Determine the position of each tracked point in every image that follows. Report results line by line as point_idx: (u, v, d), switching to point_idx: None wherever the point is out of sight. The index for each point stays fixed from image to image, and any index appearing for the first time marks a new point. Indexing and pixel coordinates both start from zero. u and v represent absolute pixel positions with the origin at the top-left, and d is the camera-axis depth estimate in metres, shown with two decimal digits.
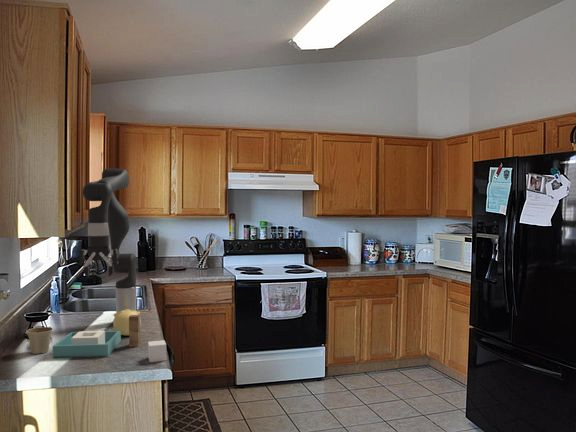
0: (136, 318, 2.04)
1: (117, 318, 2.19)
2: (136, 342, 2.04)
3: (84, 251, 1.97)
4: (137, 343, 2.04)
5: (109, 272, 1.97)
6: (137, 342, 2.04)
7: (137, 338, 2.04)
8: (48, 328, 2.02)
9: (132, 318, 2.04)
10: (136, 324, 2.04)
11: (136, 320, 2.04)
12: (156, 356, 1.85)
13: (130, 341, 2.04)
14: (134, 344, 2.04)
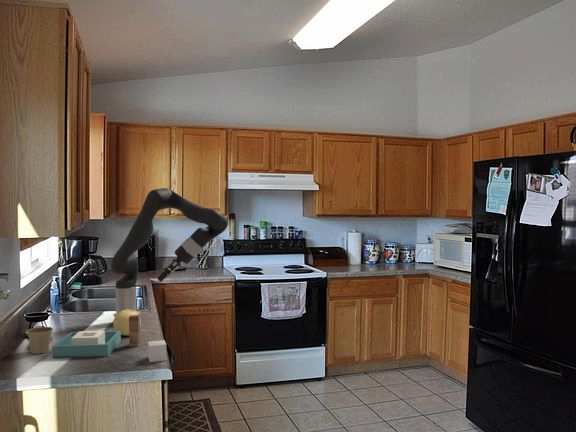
0: (136, 318, 2.04)
1: (117, 318, 2.19)
2: (136, 342, 2.04)
3: None
4: (137, 343, 2.04)
5: None
6: (137, 342, 2.04)
7: (137, 338, 2.04)
8: (48, 328, 2.02)
9: (132, 318, 2.04)
10: (136, 324, 2.04)
11: (136, 320, 2.04)
12: (156, 356, 1.85)
13: (130, 341, 2.04)
14: (134, 344, 2.04)
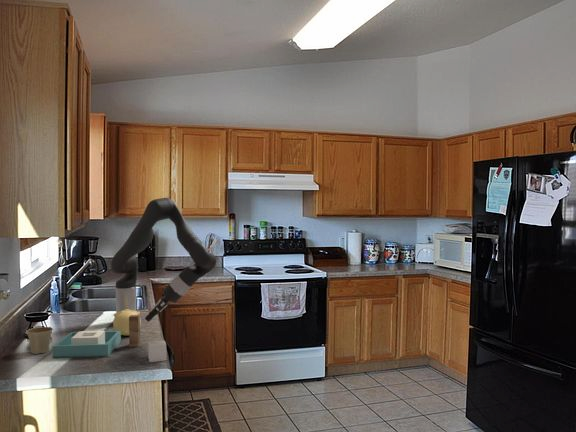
0: (136, 318, 2.04)
1: (117, 318, 2.19)
2: (136, 342, 2.04)
3: None
4: (137, 343, 2.04)
5: None
6: (137, 342, 2.04)
7: (137, 338, 2.04)
8: (48, 328, 2.02)
9: (132, 318, 2.04)
10: (136, 324, 2.04)
11: (136, 320, 2.04)
12: (156, 356, 1.85)
13: (130, 341, 2.04)
14: (134, 344, 2.04)
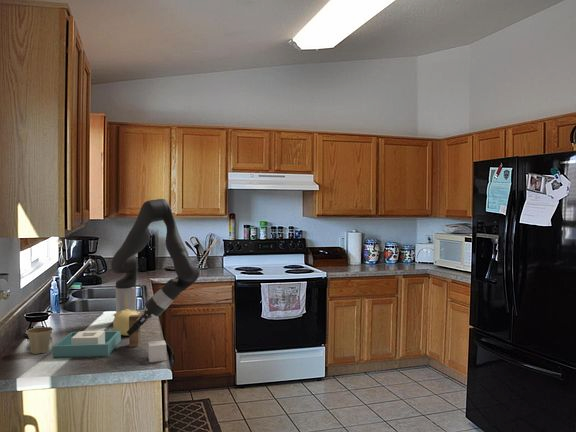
0: (136, 318, 2.04)
1: (117, 318, 2.19)
2: (136, 342, 2.04)
3: None
4: (137, 343, 2.04)
5: None
6: (137, 342, 2.04)
7: (137, 338, 2.04)
8: (48, 328, 2.02)
9: (132, 318, 2.04)
10: None
11: (136, 320, 2.04)
12: (156, 356, 1.85)
13: (130, 341, 2.04)
14: (134, 344, 2.04)
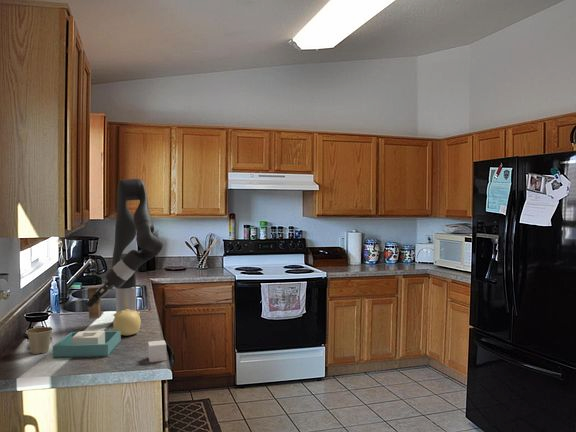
0: (96, 289, 1.99)
1: (117, 318, 2.19)
2: (96, 314, 1.99)
3: (104, 289, 1.96)
4: (97, 315, 1.99)
5: None
6: (97, 314, 1.99)
7: (97, 310, 1.99)
8: (48, 328, 2.02)
9: (92, 289, 1.99)
10: (96, 295, 1.99)
11: None
12: (156, 356, 1.85)
13: (90, 313, 1.99)
14: (94, 316, 1.99)
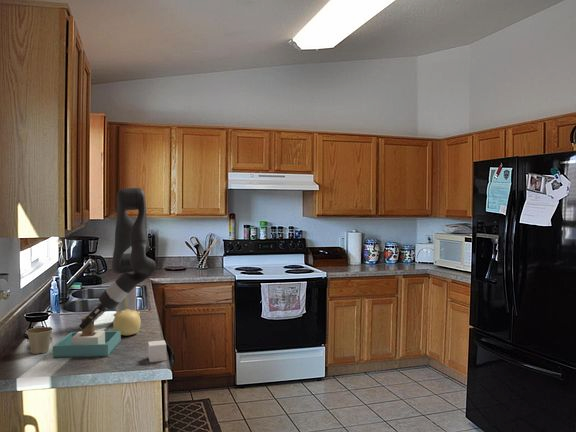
0: None
1: (117, 318, 2.19)
2: None
3: None
4: None
5: None
6: None
7: None
8: (48, 328, 2.02)
9: None
10: (89, 326, 1.98)
11: None
12: (156, 356, 1.85)
13: None
14: None
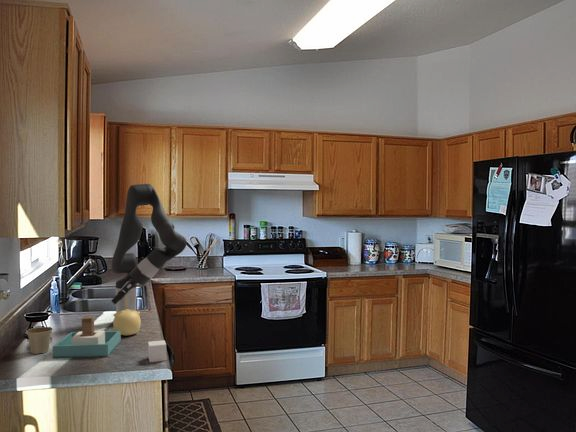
0: (89, 320, 1.98)
1: (117, 318, 2.19)
2: None
3: None
4: None
5: None
6: None
7: None
8: (48, 328, 2.02)
9: (85, 320, 1.98)
10: (89, 326, 1.98)
11: (89, 322, 1.98)
12: (156, 356, 1.85)
13: None
14: None
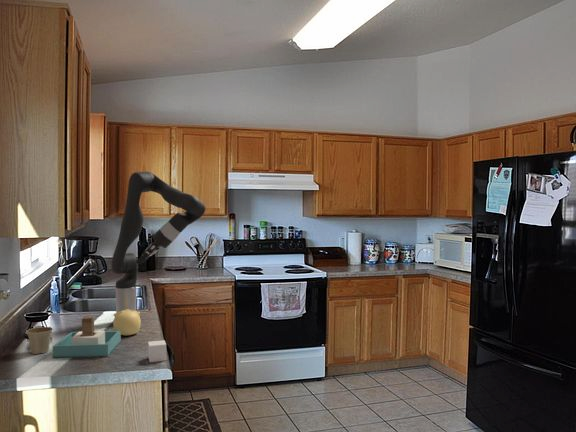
0: (89, 320, 1.98)
1: (117, 318, 2.19)
2: None
3: None
4: None
5: (145, 260, 2.18)
6: None
7: None
8: (48, 328, 2.02)
9: (85, 320, 1.98)
10: (89, 326, 1.98)
11: (89, 322, 1.98)
12: (156, 356, 1.85)
13: None
14: None
